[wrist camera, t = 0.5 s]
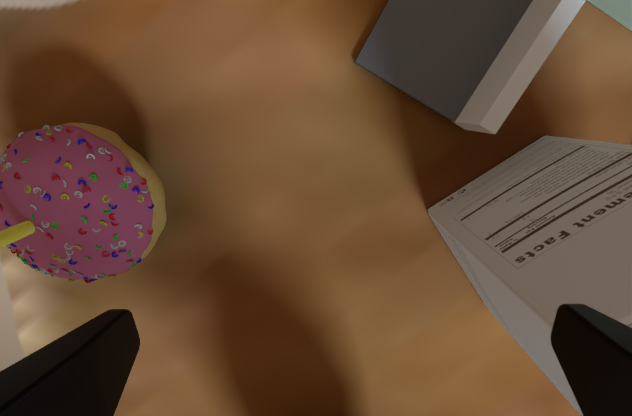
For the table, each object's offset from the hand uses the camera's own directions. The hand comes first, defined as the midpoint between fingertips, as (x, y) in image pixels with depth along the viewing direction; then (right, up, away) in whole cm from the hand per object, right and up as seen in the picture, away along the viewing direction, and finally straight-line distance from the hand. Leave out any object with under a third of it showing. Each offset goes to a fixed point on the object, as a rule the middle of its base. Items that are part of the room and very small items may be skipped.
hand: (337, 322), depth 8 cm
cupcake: (-13, +4, +16) cm, 21 cm away
